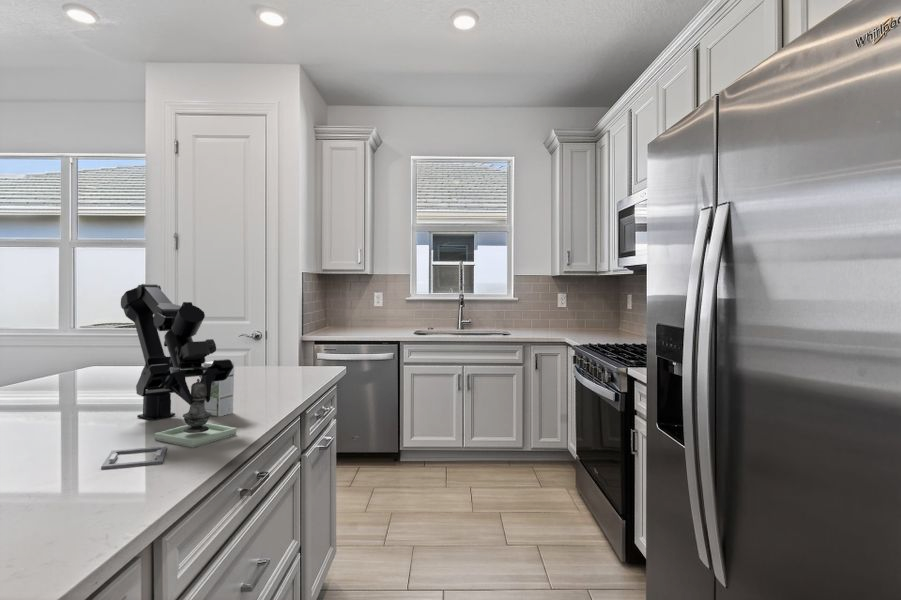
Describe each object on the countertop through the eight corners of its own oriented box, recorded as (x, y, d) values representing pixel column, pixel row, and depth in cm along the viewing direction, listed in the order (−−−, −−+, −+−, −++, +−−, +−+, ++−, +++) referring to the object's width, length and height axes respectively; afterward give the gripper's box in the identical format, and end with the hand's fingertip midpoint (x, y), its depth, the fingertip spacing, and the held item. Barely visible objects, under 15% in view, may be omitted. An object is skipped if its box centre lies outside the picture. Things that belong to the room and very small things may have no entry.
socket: (111, 453, 103) (111, 449, 103) (167, 448, 107) (167, 444, 107) (101, 469, 94) (101, 464, 94) (162, 463, 98) (162, 459, 98)
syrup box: (234, 413, 140) (235, 361, 140) (217, 417, 134) (219, 363, 134) (217, 410, 142) (219, 359, 141) (201, 415, 136) (202, 362, 136)
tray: (154, 439, 113) (154, 433, 113) (199, 427, 124) (199, 421, 124) (193, 447, 108) (193, 440, 108) (236, 434, 119) (236, 428, 119)
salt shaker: (206, 433, 114) (208, 380, 114) (178, 433, 113) (180, 380, 113) (213, 426, 120) (215, 376, 120) (186, 426, 118) (188, 376, 118)
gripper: (149, 329, 111) (166, 386, 104) (231, 327, 126) (251, 377, 119) (135, 360, 117) (151, 416, 110) (216, 354, 131) (234, 404, 124)
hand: (200, 402), depth 115 cm, fingers closed on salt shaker, 3 cm apart
